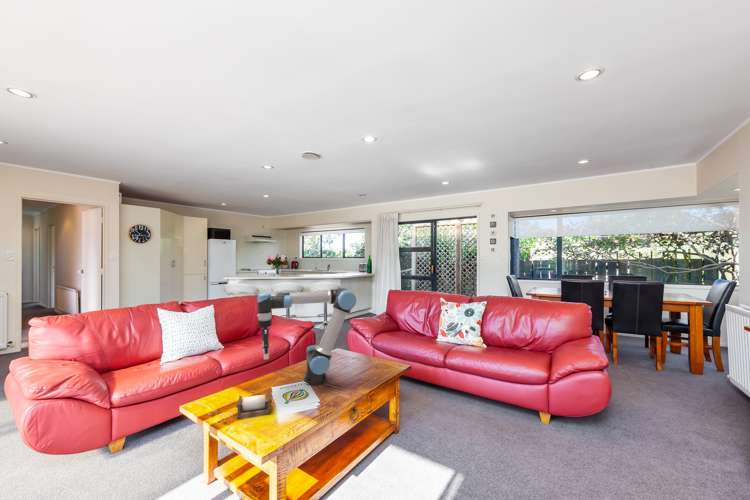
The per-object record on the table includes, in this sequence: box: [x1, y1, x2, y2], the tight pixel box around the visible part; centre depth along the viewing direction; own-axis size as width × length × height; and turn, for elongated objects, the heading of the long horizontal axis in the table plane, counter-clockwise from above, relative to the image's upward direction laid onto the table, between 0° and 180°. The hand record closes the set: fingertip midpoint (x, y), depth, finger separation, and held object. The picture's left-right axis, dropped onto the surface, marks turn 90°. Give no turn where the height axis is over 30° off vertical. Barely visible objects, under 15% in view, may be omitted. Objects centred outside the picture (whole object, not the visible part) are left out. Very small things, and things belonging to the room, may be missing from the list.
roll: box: [242, 394, 266, 412], centre depth 169 cm, size 11×7×7 cm, turn 109°
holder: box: [235, 392, 273, 420], centre depth 169 cm, size 18×11×7 cm, turn 109°
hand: (265, 355), depth 187 cm, fingers open, 13 cm apart
